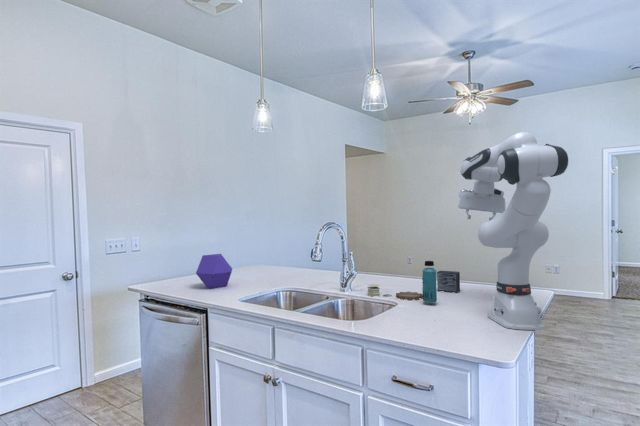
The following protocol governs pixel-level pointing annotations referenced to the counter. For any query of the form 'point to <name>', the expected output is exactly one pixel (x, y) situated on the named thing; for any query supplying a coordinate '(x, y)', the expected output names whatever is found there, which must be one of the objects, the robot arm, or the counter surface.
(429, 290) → the beverage bottle
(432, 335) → the counter surface
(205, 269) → the purple faceted block
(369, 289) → the stacked layers on plate
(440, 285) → the small box
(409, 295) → the gear plate
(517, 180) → the robot arm
